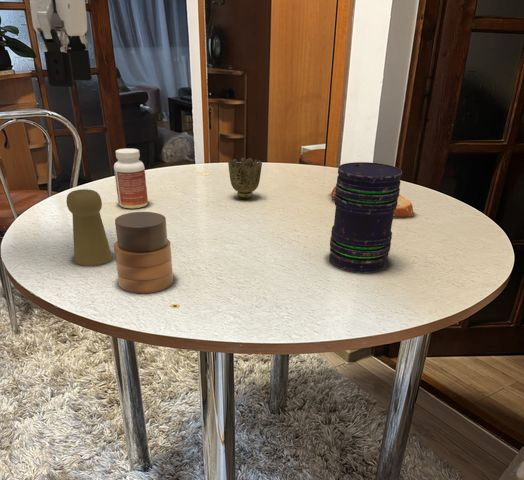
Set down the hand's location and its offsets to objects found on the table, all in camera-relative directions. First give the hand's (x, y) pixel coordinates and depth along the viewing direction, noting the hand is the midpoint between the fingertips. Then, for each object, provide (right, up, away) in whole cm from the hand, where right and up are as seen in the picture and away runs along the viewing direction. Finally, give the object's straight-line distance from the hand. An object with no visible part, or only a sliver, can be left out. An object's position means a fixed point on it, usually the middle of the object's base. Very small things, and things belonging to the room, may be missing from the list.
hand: (71, 82), depth 74 cm
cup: (+24, -4, +42) cm, 48 cm away
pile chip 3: (+10, -28, +3) cm, 30 cm away
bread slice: (+52, -6, +40) cm, 66 cm away
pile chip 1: (+10, -25, +1) cm, 27 cm away
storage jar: (+43, -24, +12) cm, 51 cm away
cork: (0, -24, +10) cm, 26 cm away
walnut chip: (+10, -23, 0) cm, 25 cm away
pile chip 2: (+10, -27, +2) cm, 28 cm away
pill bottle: (0, -8, +36) cm, 36 cm away
